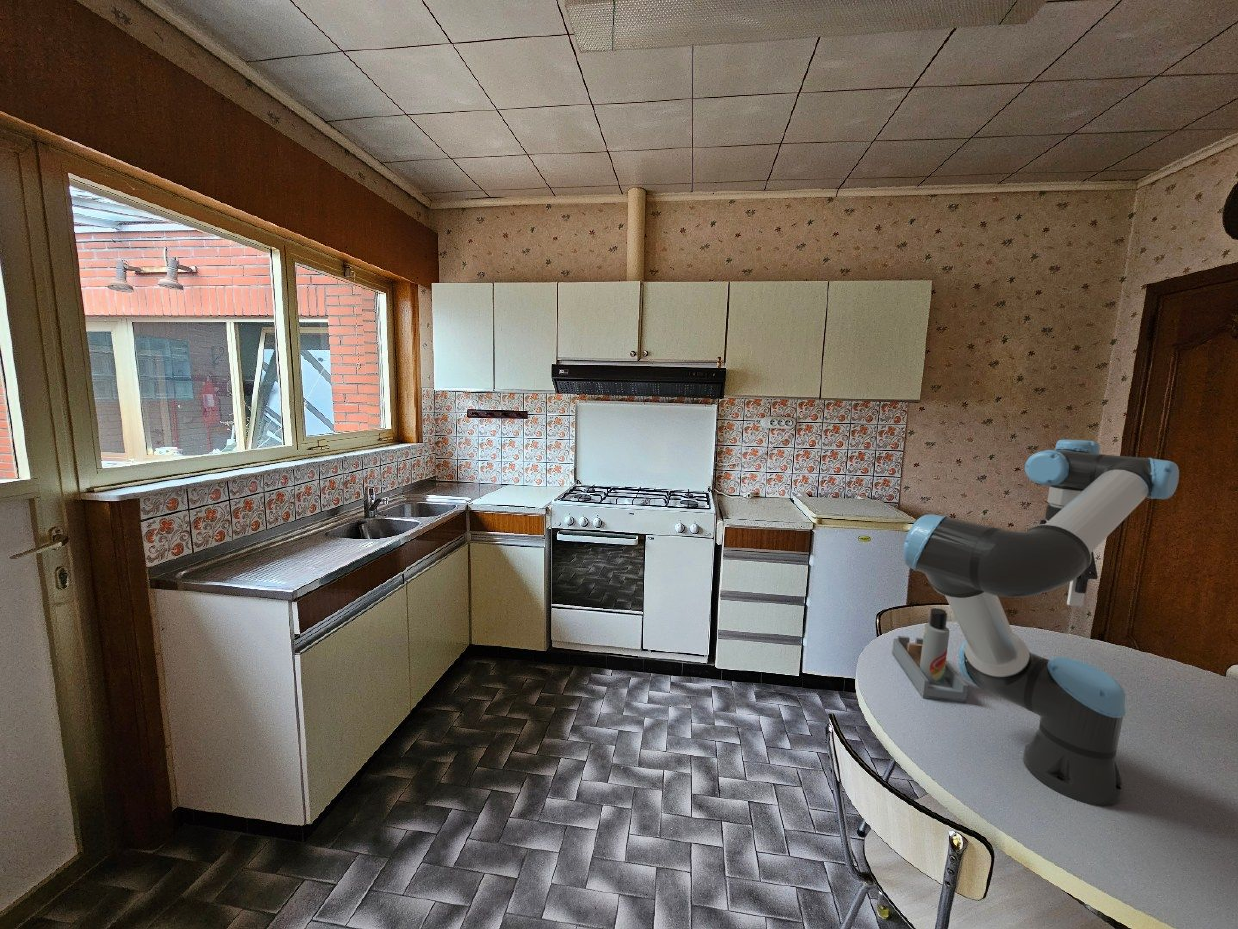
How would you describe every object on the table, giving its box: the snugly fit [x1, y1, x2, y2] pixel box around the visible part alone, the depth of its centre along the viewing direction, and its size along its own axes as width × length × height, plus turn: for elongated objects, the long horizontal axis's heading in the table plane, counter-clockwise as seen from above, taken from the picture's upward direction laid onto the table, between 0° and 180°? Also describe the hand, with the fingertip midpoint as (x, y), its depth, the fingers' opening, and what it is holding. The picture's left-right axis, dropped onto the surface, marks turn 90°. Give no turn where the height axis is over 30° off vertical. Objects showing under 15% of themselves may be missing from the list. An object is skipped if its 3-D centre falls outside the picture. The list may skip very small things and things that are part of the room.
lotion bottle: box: [920, 607, 950, 685], centre depth 135 cm, size 6×6×20 cm
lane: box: [891, 635, 969, 704], centre depth 139 cm, size 23×10×6 cm, turn 169°
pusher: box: [907, 642, 922, 666], centre depth 146 cm, size 7×7×6 cm
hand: (1054, 593), depth 119 cm, fingers open, 13 cm apart
